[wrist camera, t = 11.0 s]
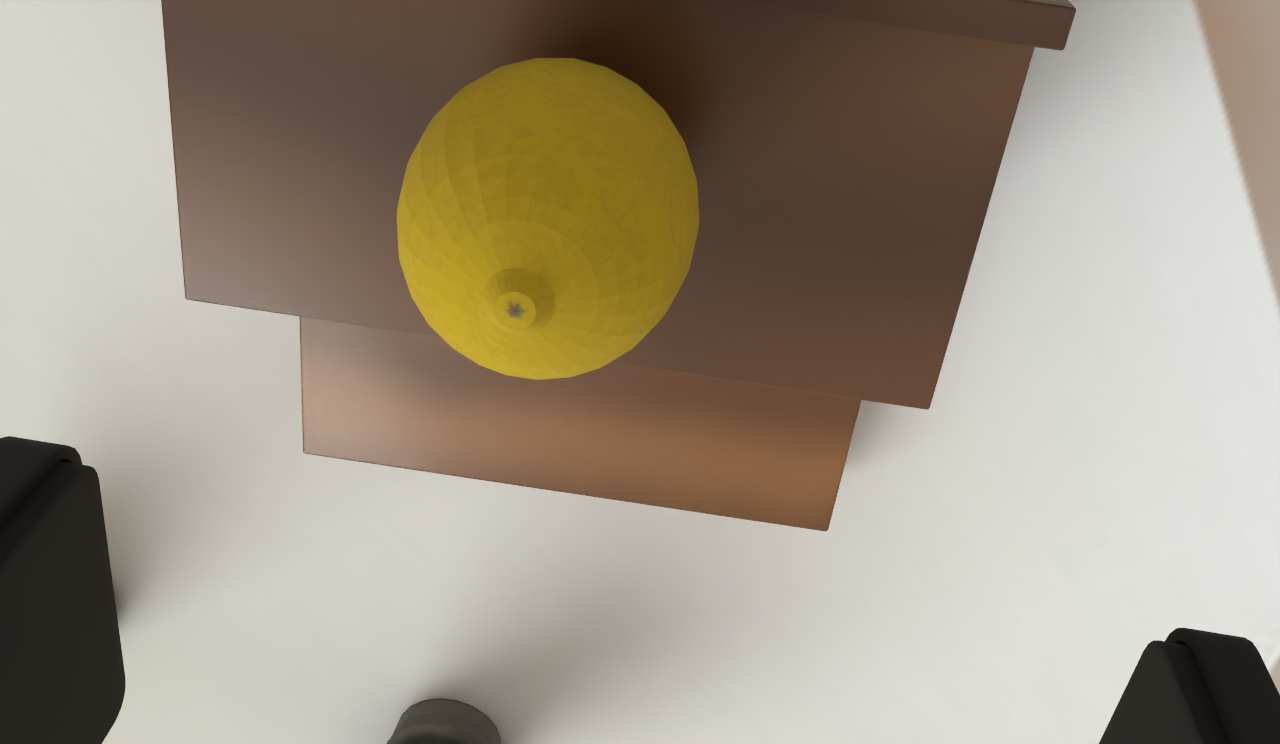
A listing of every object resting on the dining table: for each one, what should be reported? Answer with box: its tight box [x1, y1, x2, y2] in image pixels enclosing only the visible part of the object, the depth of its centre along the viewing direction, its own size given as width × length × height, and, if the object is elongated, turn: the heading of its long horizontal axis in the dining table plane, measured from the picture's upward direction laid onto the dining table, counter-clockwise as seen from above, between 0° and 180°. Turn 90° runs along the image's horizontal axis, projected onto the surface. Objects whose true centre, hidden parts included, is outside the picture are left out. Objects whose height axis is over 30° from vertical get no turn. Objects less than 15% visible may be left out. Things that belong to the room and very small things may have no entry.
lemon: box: [397, 58, 699, 380], centre depth 22 cm, size 6×6×8 cm
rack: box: [161, 0, 1076, 531], centre depth 33 cm, size 20×18×13 cm
